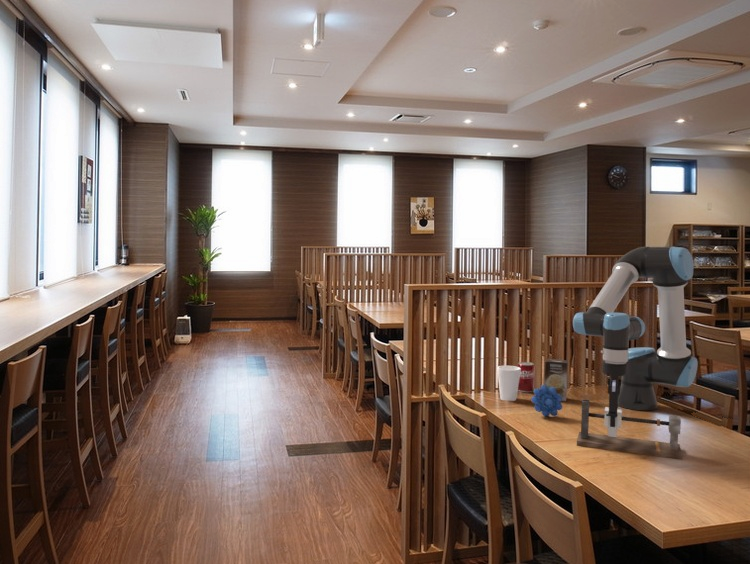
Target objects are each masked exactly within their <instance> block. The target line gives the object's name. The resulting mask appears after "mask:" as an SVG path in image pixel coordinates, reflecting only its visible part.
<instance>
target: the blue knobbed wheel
mask: <svg viewBox="0 0 750 564" xmlns="http://www.w3.org/2000/svg"><path fill="white" fill-rule="evenodd" d="M556 392H557V391H556V389H555V388H554V387H550V388H549V389H548V387H547V386H546V385H544V384H541V386H540V388H538V387H537V388H534V391H533V394H534V395H533V396H531V399H530V400H531V403H532V404H535V405H534V410H535V411H536V412H538V413H540V412H541V415H543V416H544V417H547V418H548V417H549V416H550V415H551V416H554V417H555V416H558V413H559V412H558V411H561V410H562V409H563V404H562V403H561V402H562V401H561V400H562V397H561V395H560V394H556Z"/></svg>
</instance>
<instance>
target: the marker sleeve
mask: <svg viewBox="0 0 750 564" xmlns="http://www.w3.org/2000/svg"><path fill="white" fill-rule="evenodd" d="M608 413H609V406H605V407H604V415H605V416H604V418H603V419H604V420H603V426H604V427H605V428H606V427H607V428H608V416H606V414H608ZM617 414H618V419H617V429H622V421H623V420H622V417H623V409H622V408H621V407H620V408H619V407H618V408H617Z"/></svg>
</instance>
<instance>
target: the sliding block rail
mask: <svg viewBox="0 0 750 564" xmlns="http://www.w3.org/2000/svg"><path fill="white" fill-rule="evenodd" d="M604 416H605V413H603V414H602V413H594V412H590V399H588V398H582V400H581V419H580V421H581V423H580V424H581V426H580V429H581V430H580V431H579V432H578V436H577V439H576V446H580V447H585V446H588V447H587V448H593V447H594V448H595V449H600V448H601V450H602V449H603V450H611V451H617V452H624V453H630V454H639V455H646V456H655V457H662V458H669V459H675V460H677V459H678V460H683V452H682V449H681V444H679V435H681V428H682V427H681V426H682V425H681V423H682V419H681V416H680V415H673V414H668V421H666V420H664V421H663V420H661V419H660V418H659V419H658V418H656V419H647V418H640V417H639V418H638V417H629V416H622V421H623V422H624V421H625V422H633V423H640V424H641V423H642V424H649V425H656V426H658V427H660V426H668V433H669V442H664V441H658V440H648V439H647V440H646V439H640V438H631V437H624V436H617V437H611V436H608V434H607V435H606V434H601V433H600V434H599V433H593V432H589V427H590V426H589V422H590V417H591V418H599V419H604ZM594 448H593V449H594Z"/></svg>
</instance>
